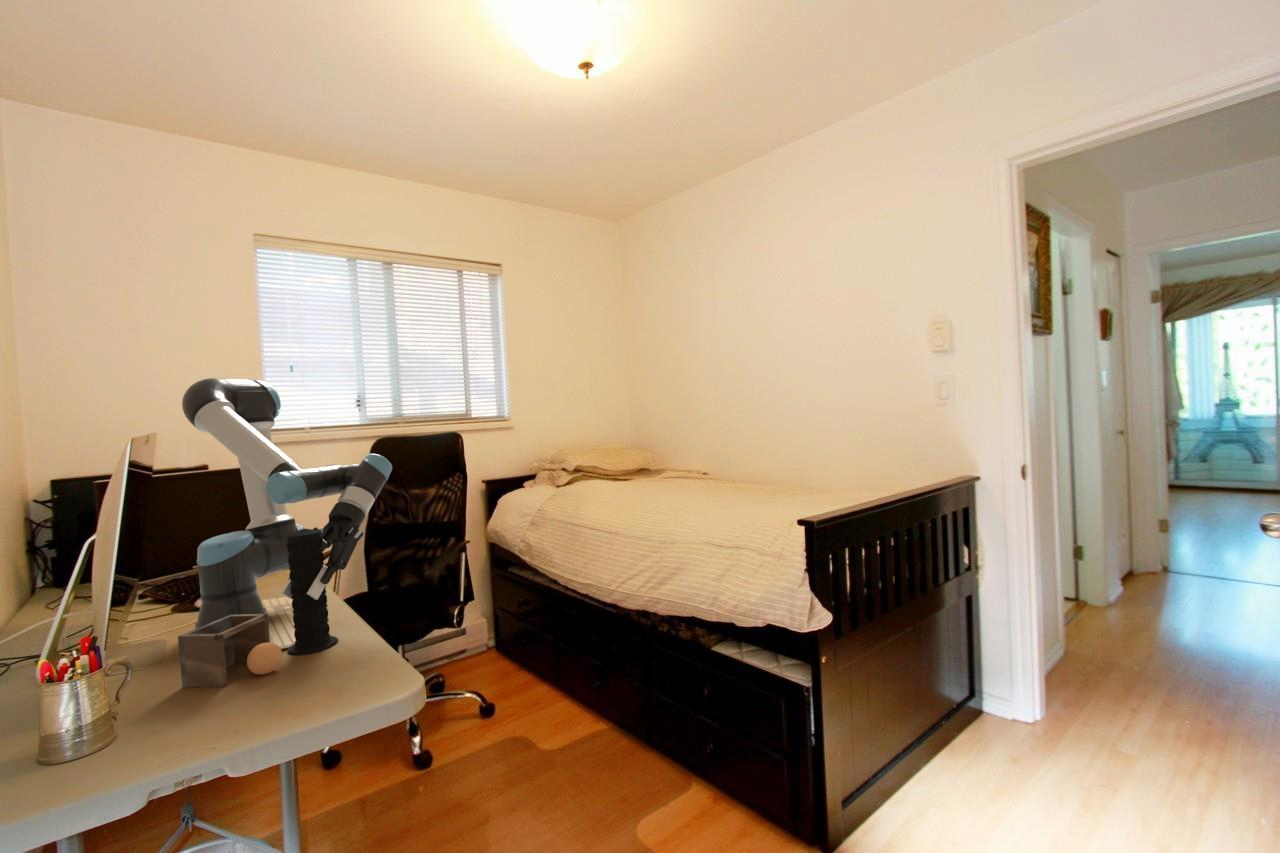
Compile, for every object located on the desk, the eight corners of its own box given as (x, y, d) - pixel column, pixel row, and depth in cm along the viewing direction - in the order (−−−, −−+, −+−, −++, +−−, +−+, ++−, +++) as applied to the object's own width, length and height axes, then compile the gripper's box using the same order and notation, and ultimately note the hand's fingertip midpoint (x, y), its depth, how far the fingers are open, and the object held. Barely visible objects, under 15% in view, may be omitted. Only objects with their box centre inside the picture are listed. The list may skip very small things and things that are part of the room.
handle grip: (320, 654, 125) (347, 636, 135) (309, 532, 124) (338, 523, 134) (276, 656, 126) (307, 638, 136) (266, 534, 125) (298, 525, 135)
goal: (234, 660, 125) (230, 614, 125) (271, 660, 123) (267, 613, 123) (182, 687, 113) (177, 636, 113) (223, 687, 112) (218, 635, 111)
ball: (264, 666, 120) (262, 638, 120) (290, 666, 119) (288, 637, 119) (240, 680, 114) (238, 649, 114) (267, 679, 113) (265, 649, 113)
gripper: (392, 517, 142) (344, 605, 127) (330, 518, 148) (277, 602, 133) (374, 499, 137) (322, 589, 122) (310, 501, 143) (253, 586, 128)
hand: (299, 596), depth 128 cm, fingers closed on handle grip, 7 cm apart
